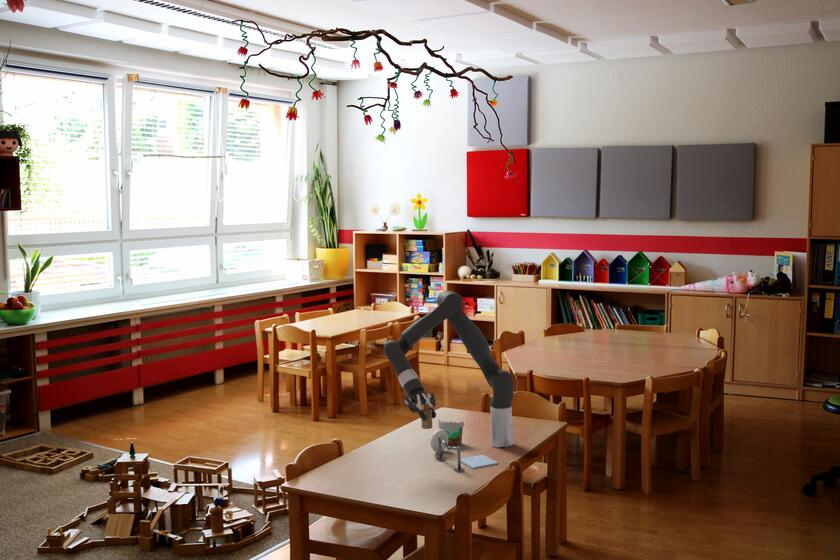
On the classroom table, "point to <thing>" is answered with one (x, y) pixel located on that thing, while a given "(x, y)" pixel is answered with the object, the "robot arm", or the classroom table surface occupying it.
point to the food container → (452, 431)
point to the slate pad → (478, 461)
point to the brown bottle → (427, 417)
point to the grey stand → (449, 449)
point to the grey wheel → (434, 440)
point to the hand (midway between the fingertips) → (429, 418)
